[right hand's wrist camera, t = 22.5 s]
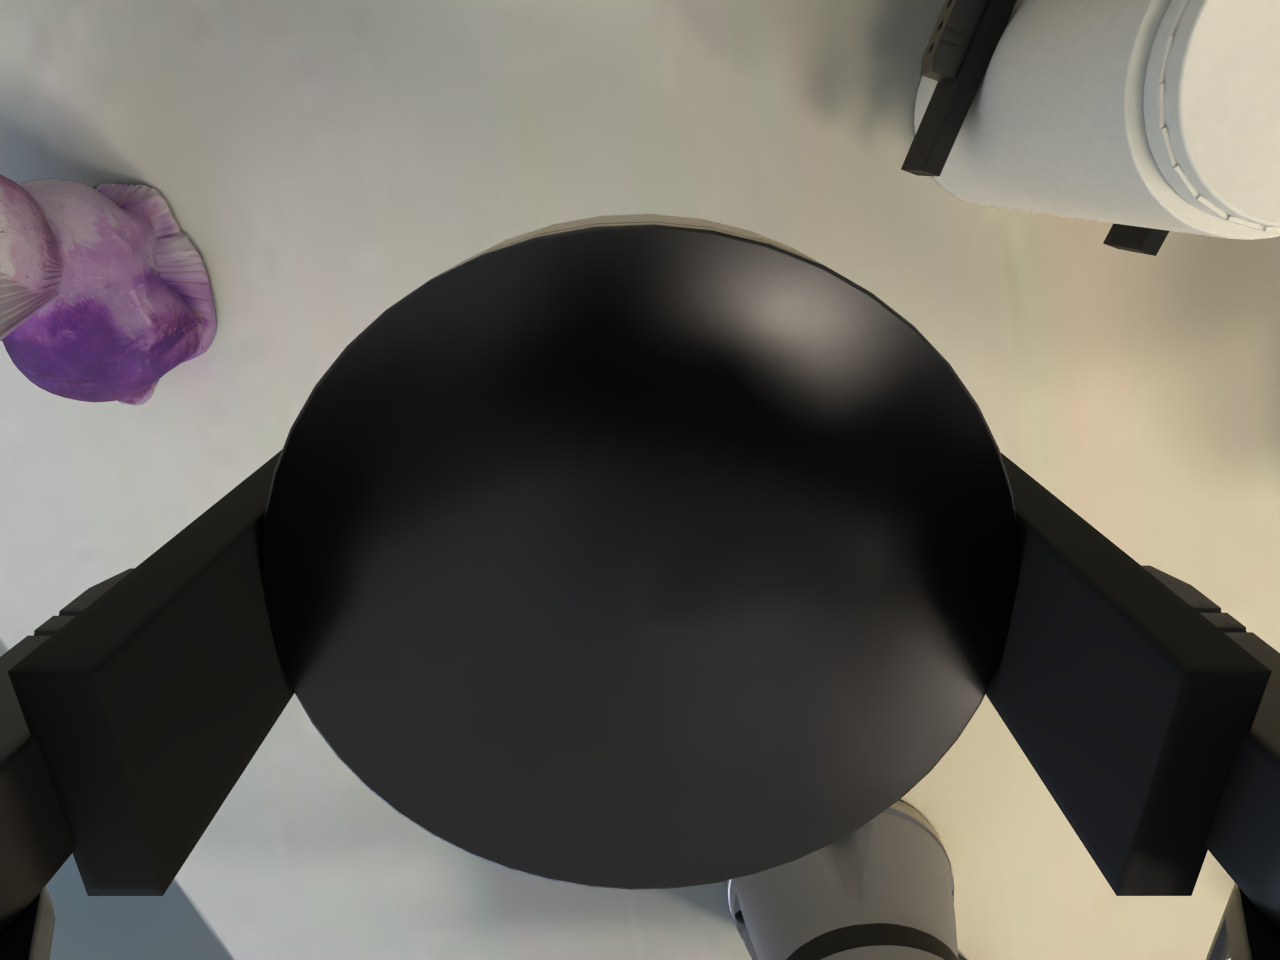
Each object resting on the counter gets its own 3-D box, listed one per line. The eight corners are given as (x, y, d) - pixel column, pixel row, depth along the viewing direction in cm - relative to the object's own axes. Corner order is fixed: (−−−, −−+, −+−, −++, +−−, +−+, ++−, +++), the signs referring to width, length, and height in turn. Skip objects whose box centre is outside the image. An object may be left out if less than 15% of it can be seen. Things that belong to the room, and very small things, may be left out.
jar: (927, 228, 39) (1165, 285, 21) (900, 31, 36) (1155, -96, 18) (1111, 176, 38) (1520, 190, 21) (1100, -31, 35) (1575, -227, 17)
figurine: (99, 123, 37) (-223, 101, 23) (269, 289, 40) (73, 359, 26) (-12, 258, 40) (-364, 311, 26) (157, 406, 42) (-78, 526, 29)
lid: (732, 44, 9) (753, 17, 8) (1072, 613, 12) (1142, 686, 11) (177, 484, 11) (96, 540, 10) (580, 880, 14) (572, 978, 13)
